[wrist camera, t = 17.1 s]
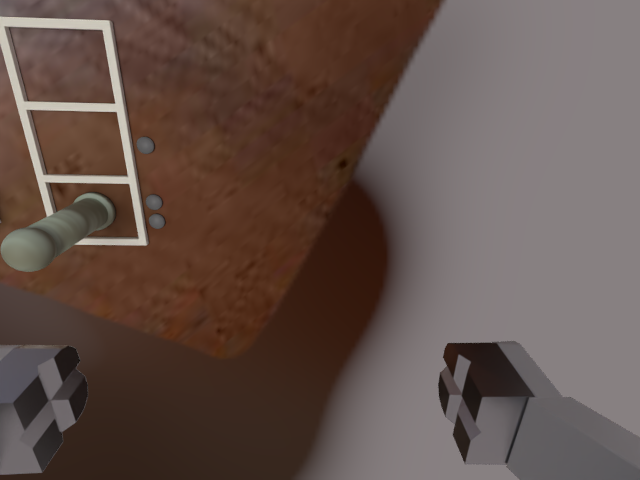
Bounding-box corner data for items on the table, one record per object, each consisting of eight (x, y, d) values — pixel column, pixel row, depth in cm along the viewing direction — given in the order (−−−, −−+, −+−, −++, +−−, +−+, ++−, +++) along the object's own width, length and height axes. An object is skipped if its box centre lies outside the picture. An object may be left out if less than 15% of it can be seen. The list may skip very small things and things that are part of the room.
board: (-3, 17, 37) (-7, 16, 36) (136, 22, 37) (134, 21, 37) (57, 242, 46) (54, 244, 45) (168, 243, 46) (166, 245, 46)
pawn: (73, 191, 43) (-22, 234, 31) (112, 192, 44) (32, 235, 31) (82, 226, 45) (-5, 281, 33) (119, 227, 45) (46, 281, 33)
